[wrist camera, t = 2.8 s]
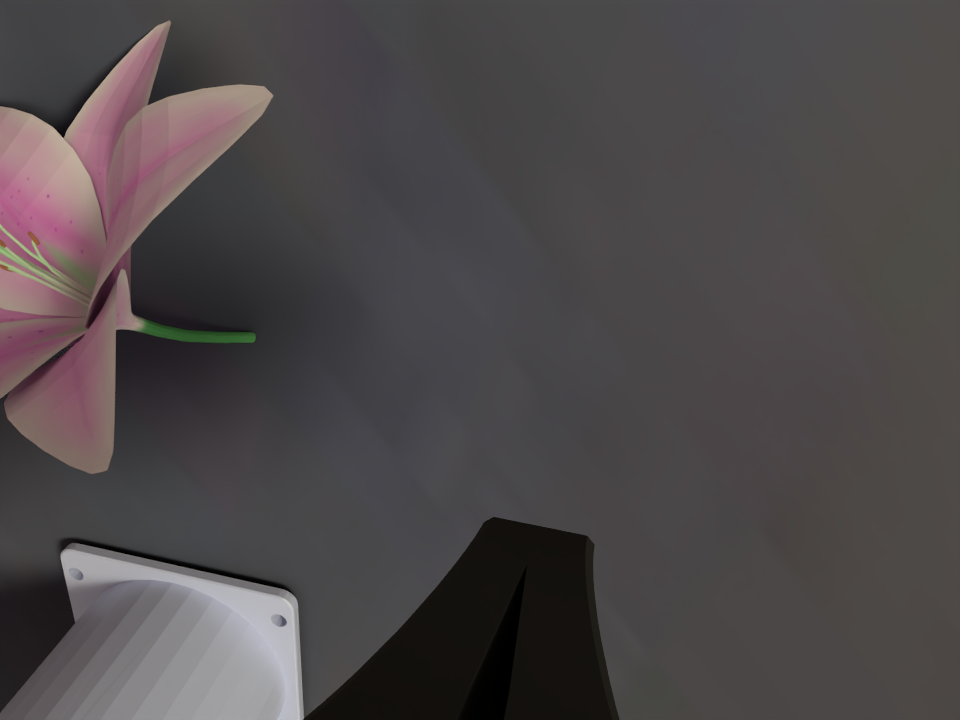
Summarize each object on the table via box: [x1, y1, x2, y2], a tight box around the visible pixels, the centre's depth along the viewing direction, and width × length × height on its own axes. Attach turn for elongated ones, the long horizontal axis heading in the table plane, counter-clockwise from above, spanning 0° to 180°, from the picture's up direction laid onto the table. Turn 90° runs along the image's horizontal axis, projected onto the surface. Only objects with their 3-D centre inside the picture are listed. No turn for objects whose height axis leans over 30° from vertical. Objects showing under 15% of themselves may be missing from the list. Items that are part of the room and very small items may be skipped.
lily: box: [0, 20, 273, 474], centre depth 19 cm, size 12×12×10 cm
